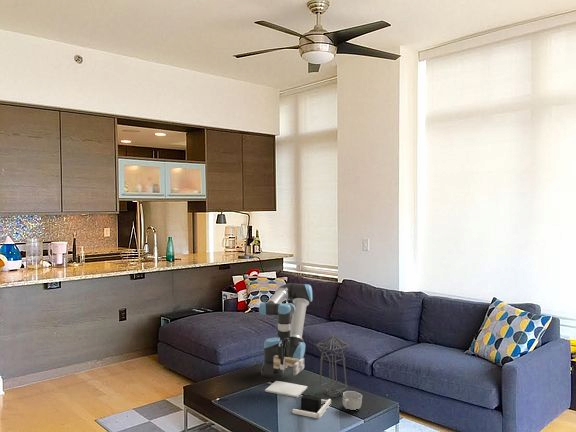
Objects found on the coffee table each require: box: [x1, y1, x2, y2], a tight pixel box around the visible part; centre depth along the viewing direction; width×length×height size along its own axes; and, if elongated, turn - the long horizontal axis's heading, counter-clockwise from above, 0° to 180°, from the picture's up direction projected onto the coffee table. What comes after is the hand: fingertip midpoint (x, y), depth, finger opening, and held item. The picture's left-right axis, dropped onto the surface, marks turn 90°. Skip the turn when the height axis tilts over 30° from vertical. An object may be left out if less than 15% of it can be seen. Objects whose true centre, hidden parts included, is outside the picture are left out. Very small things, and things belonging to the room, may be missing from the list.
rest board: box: [264, 380, 308, 399], centre depth 293 cm, size 16×21×1 cm
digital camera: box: [300, 394, 322, 413], centre depth 266 cm, size 10×5×7 cm, turn 67°
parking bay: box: [292, 398, 332, 419], centre depth 267 cm, size 19×15×3 cm
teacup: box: [341, 390, 363, 411], centre depth 266 cm, size 14×11×8 cm
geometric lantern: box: [315, 335, 351, 397], centre depth 286 cm, size 16×16×35 cm
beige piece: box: [274, 355, 305, 376], centre depth 292 cm, size 14×17×7 cm
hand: (283, 368), depth 293 cm, fingers closed on beige piece, 3 cm apart
